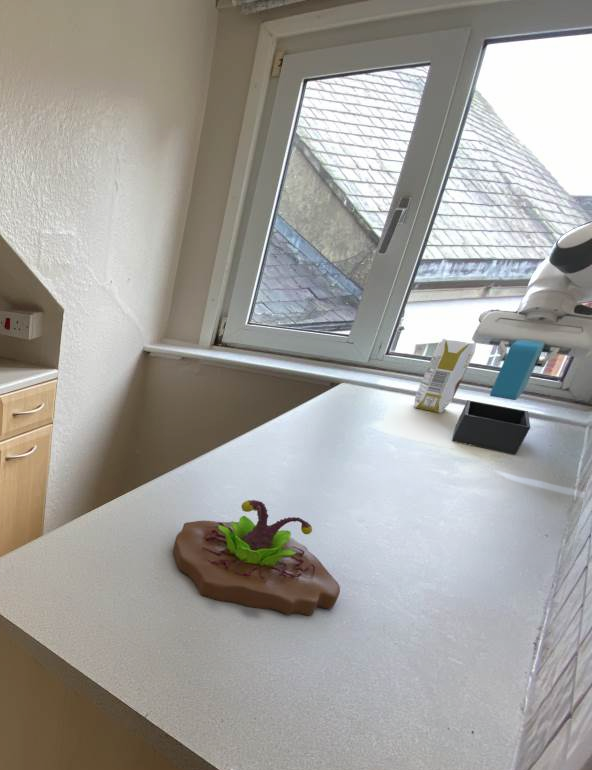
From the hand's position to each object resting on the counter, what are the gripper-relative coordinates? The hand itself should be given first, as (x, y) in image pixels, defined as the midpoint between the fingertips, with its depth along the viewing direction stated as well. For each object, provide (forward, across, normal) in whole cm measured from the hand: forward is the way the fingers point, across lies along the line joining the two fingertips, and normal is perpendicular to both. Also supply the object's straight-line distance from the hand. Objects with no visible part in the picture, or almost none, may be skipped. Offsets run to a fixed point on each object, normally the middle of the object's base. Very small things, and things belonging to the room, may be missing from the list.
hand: (521, 362), depth 125 cm
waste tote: (+14, 0, +11) cm, 18 cm away
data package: (+7, 0, +4) cm, 8 cm away
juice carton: (0, -12, +26) cm, 29 cm away
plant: (+86, -24, -60) cm, 108 cm away
